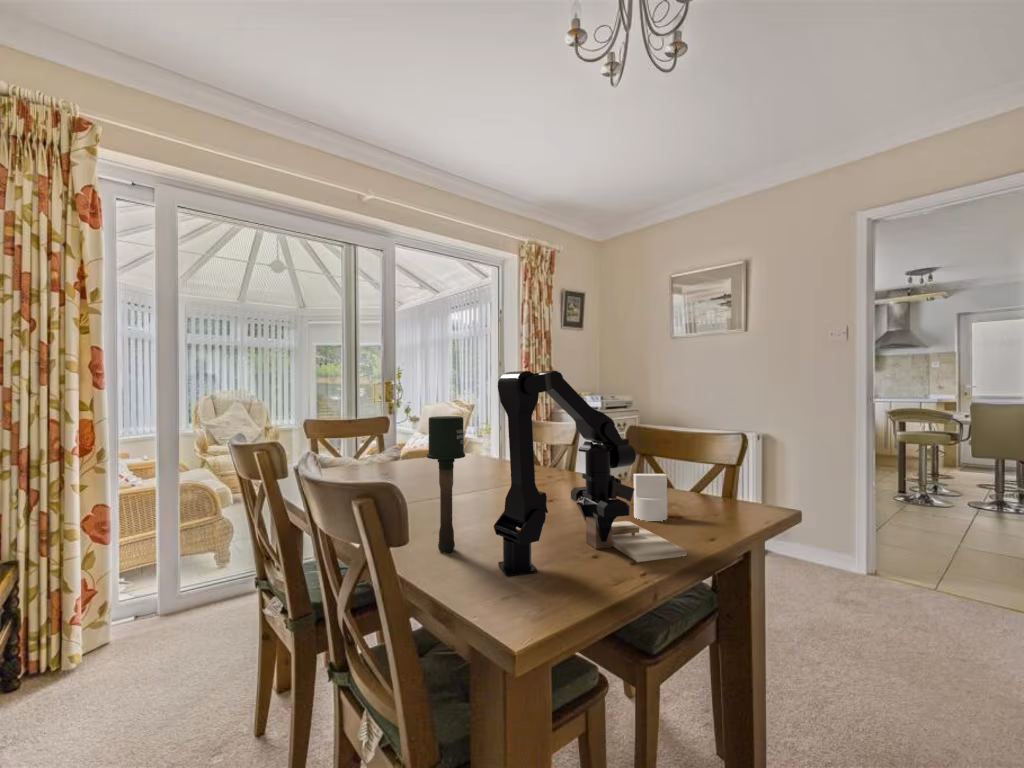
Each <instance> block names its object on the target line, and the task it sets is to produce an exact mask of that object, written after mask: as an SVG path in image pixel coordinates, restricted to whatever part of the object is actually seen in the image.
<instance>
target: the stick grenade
mask: <svg viewBox="0 0 1024 768" xmlns="http://www.w3.org/2000/svg"><path fill="white" fill-rule="evenodd" d="M464 443H465V442H464V417H463V416H458V415H457V416H455V415H454V416H453V415H452V416H451V415H448V416H447V415H445V416H444V415H443V416H442V415H440V416H439V415H437V416H430V417H429V418H428V453H427V454H426V458H427V459H429V460H437V463H438V483H439V491H440V492H439V493H440V494H439V495H440V497H439V498H440V499H439V501H440V503H439V504H440V509H439V513H440V516H439V517H440V519H439V520H440V522H439V523H440V527H439V530H438V531H439V532H438V542H437V543H438V544H437V549H438V550H439V552H440V551H441V553H444V552H447V553H451V551H452V552H453V551H454V550H455V546H456V545H455V530H454V526H453V486H454V466H455V465H454V463H455V461H456V460H458V459H463V458H465V457H466V453H465V452H464V451H465V450H464V449H465V447H464V446H465V445H464Z"/></svg>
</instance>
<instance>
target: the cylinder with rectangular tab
mask: <svg viewBox="0 0 1024 768" xmlns="http://www.w3.org/2000/svg"><path fill="white" fill-rule="evenodd" d="M633 488H634V493H633V517H634V518H635V519H636V518H637V519H636V520H638V519H640V520H639V521H642V520H645V521H644V522H648V521H661V522H664V521H663V520H665V521H667V520H668V476H667V474H666V473H633ZM666 519H667V520H666Z"/></svg>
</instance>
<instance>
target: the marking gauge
mask: <svg viewBox="0 0 1024 768" xmlns="http://www.w3.org/2000/svg"><path fill="white" fill-rule="evenodd" d="M585 529H586V530H585V533H586V534H585V536H586V538H585V540H586V542H585V543H587V544H588V545H589V546H590V547H592V548H594V549H595V550H599V549H610V548H612V547H613V546H612V535H620V534H630V533H632V535H633V536H635V533H639V527H637V526H635V525H631V526H620V527H612V526H611V529H610V532H609V535H608V538H607V541H606V542H602V541H601V539H600V536H599V532H598V529H597V526H596V522H595V519H594V516H587V517H586V522H585Z"/></svg>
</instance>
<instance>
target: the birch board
mask: <svg viewBox="0 0 1024 768" xmlns="http://www.w3.org/2000/svg"><path fill="white" fill-rule="evenodd" d="M631 525H635V526H637V527H639V533H635V536H633V535H632V533H630V534H620V535H612V547H614V548H615V549H616V550H618V551H620V552H621V553H623V554H624V555H626V556H627V557H629V558H630V559H632V560H634V561H635V562H636V563H640V562H641V563H642V562H648V561H655V560H665V559H672V558H673V559H674V558H680V557H681V556H682V557H686V556H687V554H688V551H687V550H686V549H685V548H683V547H680V546H679V545H677V544H675V543H672V542H671V541H669V540H667V539H665V538H663V537H661V536H660V535H658V534H655V533H654V532H651V531H649V530H648V529H645V528H643V527H641V526H639V525H637V524H635V523H633V522H631V521H630V520H623V521H621V520H620V521H613V523H612V527H620V526H631Z"/></svg>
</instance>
